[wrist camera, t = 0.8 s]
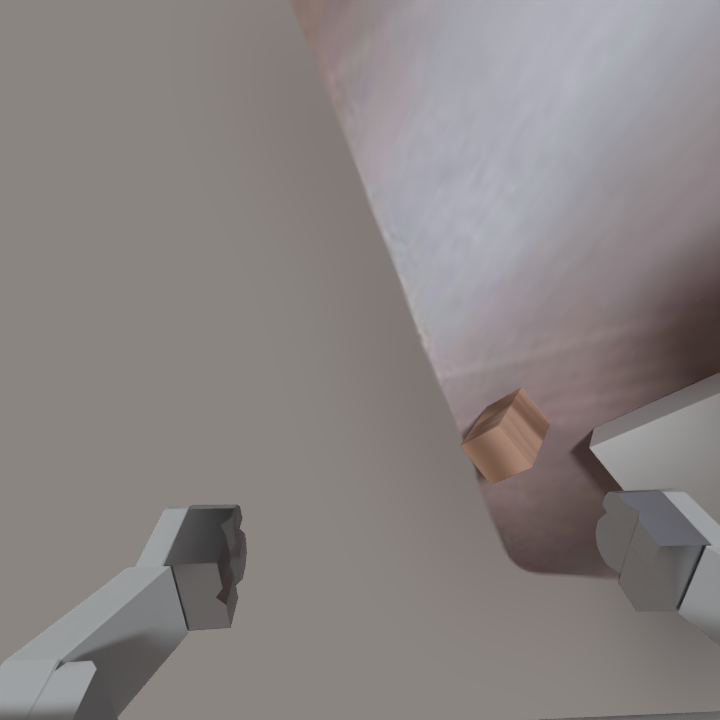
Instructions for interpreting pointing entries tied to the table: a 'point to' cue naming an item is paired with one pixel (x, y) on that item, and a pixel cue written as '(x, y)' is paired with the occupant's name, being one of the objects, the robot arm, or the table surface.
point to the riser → (668, 445)
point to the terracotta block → (506, 437)
